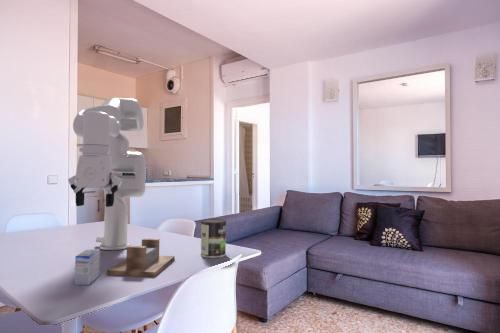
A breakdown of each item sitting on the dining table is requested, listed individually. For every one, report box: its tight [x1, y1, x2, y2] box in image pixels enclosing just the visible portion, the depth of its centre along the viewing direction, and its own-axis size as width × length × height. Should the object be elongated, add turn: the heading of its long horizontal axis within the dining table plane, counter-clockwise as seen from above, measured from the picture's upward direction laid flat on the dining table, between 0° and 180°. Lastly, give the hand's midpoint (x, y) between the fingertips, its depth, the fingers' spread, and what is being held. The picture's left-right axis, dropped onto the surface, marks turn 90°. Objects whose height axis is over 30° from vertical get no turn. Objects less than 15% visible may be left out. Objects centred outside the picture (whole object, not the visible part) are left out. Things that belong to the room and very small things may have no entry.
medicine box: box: [74, 249, 101, 286], centre depth 100 cm, size 8×4×9 cm, turn 5°
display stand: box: [106, 238, 176, 278], centre depth 115 cm, size 16×20×8 cm
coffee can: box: [200, 218, 227, 259], centre depth 133 cm, size 10×10×14 cm
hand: (94, 206), depth 101 cm, fingers open, 9 cm apart
